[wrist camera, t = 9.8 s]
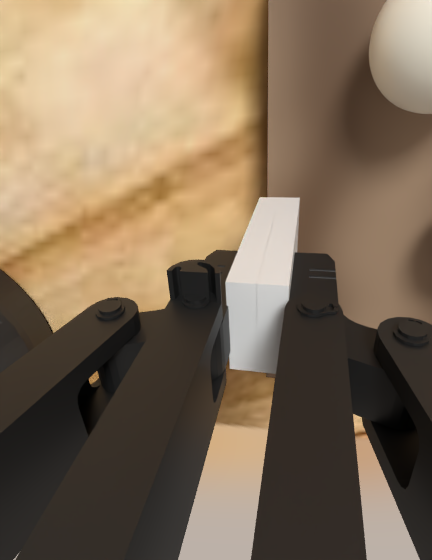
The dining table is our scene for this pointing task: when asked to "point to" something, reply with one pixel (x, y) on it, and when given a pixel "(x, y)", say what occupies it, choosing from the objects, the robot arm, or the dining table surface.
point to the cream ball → (403, 54)
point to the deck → (349, 159)
